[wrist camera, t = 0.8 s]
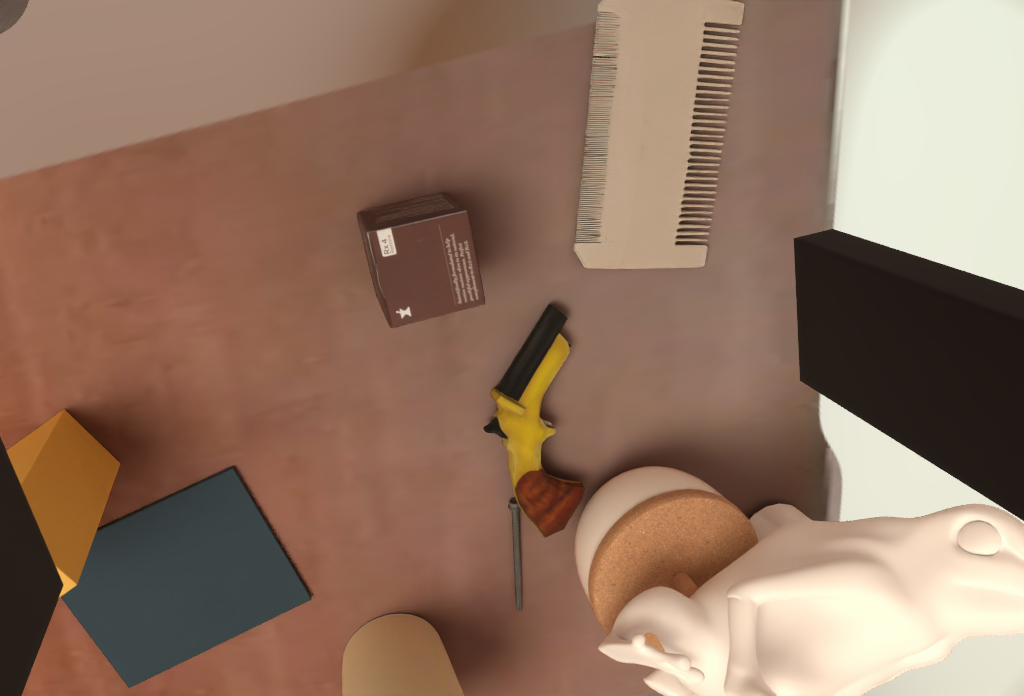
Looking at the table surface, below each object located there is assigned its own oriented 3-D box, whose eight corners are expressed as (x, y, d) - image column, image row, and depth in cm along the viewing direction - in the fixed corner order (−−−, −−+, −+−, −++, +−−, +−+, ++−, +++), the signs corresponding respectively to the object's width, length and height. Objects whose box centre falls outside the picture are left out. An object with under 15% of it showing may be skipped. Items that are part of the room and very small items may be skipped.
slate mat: (34, 557, 57) (33, 560, 57) (233, 465, 59) (233, 468, 58) (129, 684, 62) (128, 688, 61) (311, 596, 63) (311, 599, 63)
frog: (537, 609, 54) (964, 781, 35) (642, 394, 60) (1056, 445, 41) (691, 721, 66) (1068, 892, 47) (766, 533, 72) (1128, 620, 53)
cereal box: (-54, 493, 54) (-153, 630, 42) (64, 408, 55) (1, 519, 42) (7, 545, 56) (-69, 690, 44) (120, 463, 57) (77, 585, 44)
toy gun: (541, 530, 66) (432, 476, 63) (646, 363, 65) (540, 299, 62) (556, 551, 63) (442, 495, 60) (666, 376, 62) (556, 309, 58)
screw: (523, 503, 64) (519, 496, 65) (510, 505, 64) (506, 499, 65) (527, 613, 68) (523, 605, 69) (515, 616, 68) (511, 608, 69)
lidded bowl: (732, 497, 70) (809, 572, 60) (626, 609, 71) (685, 701, 61) (632, 409, 65) (699, 475, 55) (520, 530, 66) (565, 618, 56)
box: (462, 277, 59) (487, 307, 52) (375, 298, 57) (389, 331, 51) (445, 189, 56) (469, 208, 50) (354, 209, 55) (366, 231, 48)
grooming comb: (747, -2, 57) (741, -1, 57) (602, -19, 54) (598, -18, 55) (706, 272, 62) (701, 269, 63) (572, 269, 59) (569, 266, 60)
